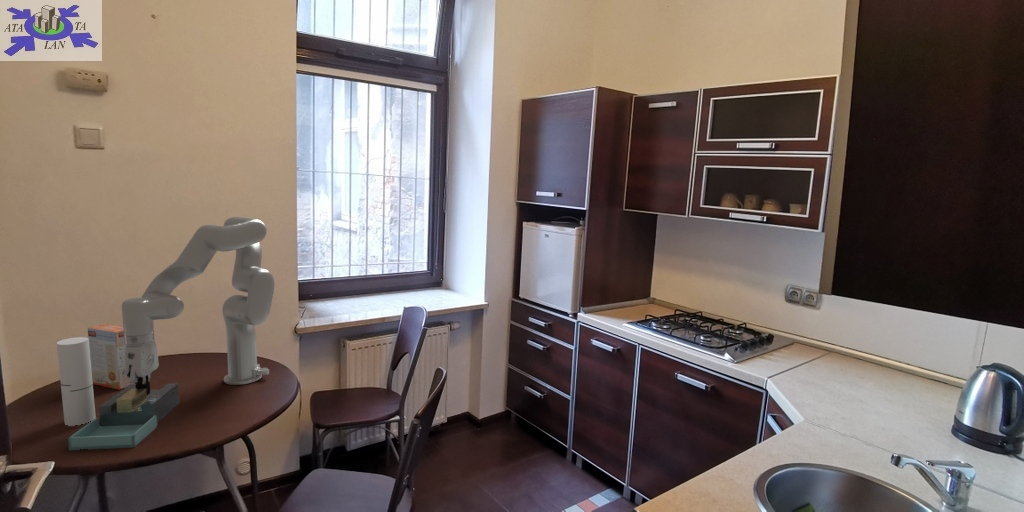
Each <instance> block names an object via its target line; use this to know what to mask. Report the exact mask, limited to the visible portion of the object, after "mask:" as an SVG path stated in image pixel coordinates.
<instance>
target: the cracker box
mask: <svg viewBox="0 0 1024 512" xmlns="http://www.w3.org/2000/svg"><path fill="white" fill-rule="evenodd" d="M87 338H88V339H89V349H90V360H91V371H92V383H93V385H96V386H100V387H104V388H105V387H106V388H109V389H113V390H118V391H121V390H123V389H125V388H126V387H128V386H129V385H131V384H134V383H130V378H128V377H127V376H126V372H125V348H126V346H125V345H124V331H123V326H120V325H113V324H109V323H108V324H107V323H102V324H97V325H94V326H89V327H87Z"/></svg>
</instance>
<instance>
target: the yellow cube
mask: <svg viewBox="0 0 1024 512" xmlns="http://www.w3.org/2000/svg"><path fill="white" fill-rule="evenodd" d="M116 401H117V413H127V412H134V411H135V410H136V409H138V408H139V407H140V397H139V394H124V395H123V396H121V397H120V398H118V399H117V400H116Z"/></svg>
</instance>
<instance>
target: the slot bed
mask: <svg viewBox="0 0 1024 512" xmlns="http://www.w3.org/2000/svg"><path fill="white" fill-rule="evenodd" d="M131 389H136V385H135V384H131V385H129V386H128V387H126V388H123V389H121V390H119V392H118V393H116V394H114V395H113V396H112V397H110V398H109V399H108V400H106V401H105V402H103V403H102V404H101V405H99V422H100V426H120V425H144V424H145V423H146V422H147V421H149V420H150V419H151V418H152V417H153V416H157V424H158V423H159V422H161V420H163V419H164V418H165V417H166V416H167V415H168V414H170V412H172V411H173V410H174V409H175V408H176V407H177V406H178V405H179V404H180V395H179V393H180V392H179V383H178V382H174V383H173V382H172V383H171V382H170V383H167V384H165V385H164V386H163V387H161V388H160V389H150V394H148V395H147V400H146V401H145V402H144V403H143V404H141V406H140V407H139V408H138V409H136V410H135V411H134V412H127V413H117V401H116V400H117V399H118V398H120V397H121V396H123V395H124V394H125V393H127V392H128V391H130V390H131Z"/></svg>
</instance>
